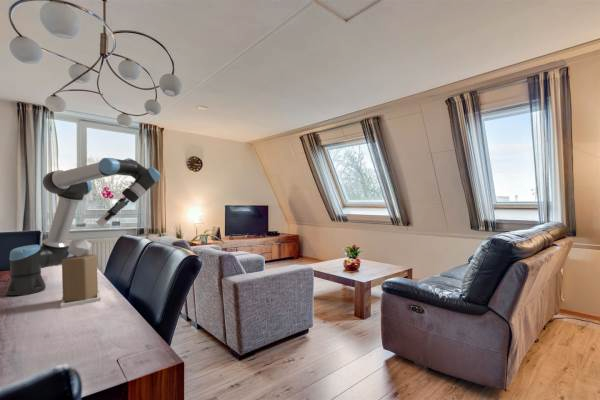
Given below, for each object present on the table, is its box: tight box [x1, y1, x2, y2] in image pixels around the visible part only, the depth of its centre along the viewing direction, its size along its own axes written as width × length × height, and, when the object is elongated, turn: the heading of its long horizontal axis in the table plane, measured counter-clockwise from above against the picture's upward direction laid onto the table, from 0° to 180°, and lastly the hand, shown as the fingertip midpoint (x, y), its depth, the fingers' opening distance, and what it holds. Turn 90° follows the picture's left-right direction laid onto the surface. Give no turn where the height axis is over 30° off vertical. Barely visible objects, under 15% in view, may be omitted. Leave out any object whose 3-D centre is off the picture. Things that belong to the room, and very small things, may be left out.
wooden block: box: [61, 253, 99, 303], centre depth 138 cm, size 10×10×20 cm
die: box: [68, 238, 92, 257], centre depth 138 cm, size 8×9×10 cm
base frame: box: [60, 290, 102, 309], centre depth 138 cm, size 14×14×2 cm
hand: (98, 224), depth 142 cm, fingers open, 13 cm apart
